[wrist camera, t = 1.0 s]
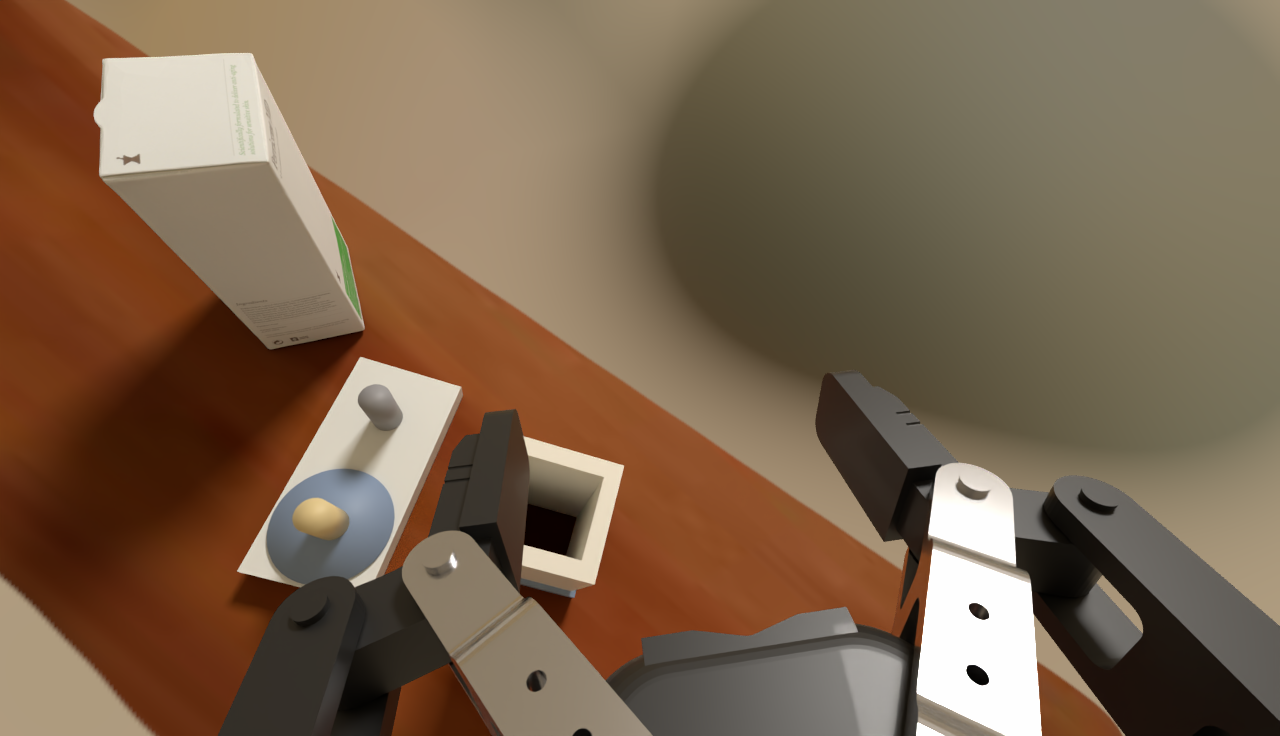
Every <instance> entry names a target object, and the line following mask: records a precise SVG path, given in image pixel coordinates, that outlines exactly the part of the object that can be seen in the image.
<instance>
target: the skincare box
mask: <svg viewBox="0 0 1280 736" xmlns="http://www.w3.org/2000/svg"><path fill="white" fill-rule="evenodd" d="M102 64H103V70H102V87H101V101H100V102H99V103H98V104H97V106H96V108H95V110H94V119H95V122H96V123H97V124H98V126H99V127H100V129H101V132H100V167H99V176H100V177H101V178H102V180H103V181H104V182H105V183H106V184H107V185H108V186H109V187H110V188H112V189H113V190H114V191H115V192H116V193H117V194H118V195H119V196H120V197H121V198H122V199H123V200H124V201H125V202H126V203H127V204H128V205H129V206H130V207H131V208H132V209H133V210H134V211H135V212H136V213H137V214H138V215H139V216H140V217H141V218H142V219H143V220H144V221H145V222H146V223H147V224H148V225H149V226H150V227H151V228H152V229H153V230H154V232H155V233H156V234H157V235H158V236H159V237H160V238H161V239H162V240H163V241H164V242H165V243H166V244H167V245H168V246H169V247H170V248H171V249H172V250H173V251H174V252H175V253H176V254H177V255H178V256H179V257H180V258H181V259H182V260H183V261H184V262H185V263H186V264H187V265H188V266H189V267H190V268H191V269H192V270H193V271H194V272H195V273H196V274H197V275H198V276H199V278H200V279H201V280H202V281H203V282H204V283H205V284H206V285H207V286H208V287H209V288H210V289H211V290H212V291H213V292H214V293H215V294H216V295H217V296H218V297H219V298H220V299H221V300H222V301H223V302H224V303H225V304H226V305H227V306H228V307H229V308H230V310H231V311H232V312H233V313H234V314H235V315H236V316H237V317H238V318H239V319H240V320H241V321H242V322H243V323H244V324H245V325H246V326H247V327H248V328H249V329H250V330H251V331H252V332H253V333H254V334H255V335H256V336H257V337H258V338H259V339H260V341H261V342H262V343H263V344H264V345H265V346H266V347H267V348H268V349H275V348H280V347H285V346H290V345H295V344H300V343H305V342H310V341H315V340H320V339H325V338H330V337H334V336H339V335H344V334H349V333H354V332H358V331H363V330H364V328H365V327H364V322H363V318H362V313H361V308H360V302H359V298H358V293H357V289H356V284H355V280H354V275H353V271H352V266H351V261H350V256H349V251H348V247H347V245H346V243H345V241H344V239H343V237H342V235H341V233H340V231H339V229H338V227H337V225H336V223H335V221H334V219H333V217H332V215H331V213H330V211H329V209H328V207H327V205H326V203H325V201H324V199H323V197H322V195H321V193H320V191H319V189H318V187H317V185H316V183H315V181H314V179H313V177H312V175H311V172H310V170H309V168H308V166H307V164H306V162H305V160H304V158H303V157H302V155H301V153H300V151H299V148H298V147H297V144H296V142H295V141H294V138H293V136H292V135H291V132H290V130H289V128H288V126H287V124H286V122H285V120H284V118H283V116H282V115H281V112H280V110H279V108H278V106H277V104H276V102H275V100H274V98H273V96H272V94H271V92H270V90H269V88H268V87H267V84H266V82H265V80H264V79H263V77H262V74H261V72H260V71H259V68H258V66H257V64H256V62H255V59H254V57H253V55H252V54H251V53H225V54H206V55H190V56H189V55H188V56H172V57H171V56H170V57H143V58H109V59H103V60H102Z"/></svg>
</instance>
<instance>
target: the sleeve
mask: <svg viewBox="0 0 1280 736" xmlns="http://www.w3.org/2000/svg"><path fill="white" fill-rule="evenodd" d="M523 437H524V436H523ZM524 441H525V445H526V449H527V453H528V458H529V467H530V480H529V492H528V503H527V504H531V505H534V506H538V507H541V508H545V509H548V510H552V511H556V512H559V513H563V514H566V515H570V516H573V517H577V518H576V521H575V525H574V528H573V532H572V535H571V539H570V543H569V546H568V550H567V553H566V556H563V555H560V554H556V553H552V552H549V551H545V550H541V549H537V548H534V547H530V546H526V545H524V548H523V559H522V571H521V582H520V585H524V586H528V587H531V588H535V589H539V590H543V591H547V592H550V593H554V594H558V595H562V596H566V597H569V598H574V597H575V593H576V590H577V589H581V588H584V587H588V586H591V585H595V581H596V577H597V573H598V569H599V565H600V561H601V557H602V553H603V549H604V545H605V541H606V537H607V533H608V529H609V524H610V520H611V516H612V512H613V508H614V504H615V500H616V496H617V492H618V488H619V484H620V480H621V476H622V472H623V468H624V466H623V465H620V464H616V463H613V462H609V461H606V460H603V459H599V458H596V457H592V456H589V455H585V454H582V453H579V452H575V451H572V450H568V449H565V448H562V447H558V446H555V445H551V444H548V443H544V442H541V441H538V440H534V439H531V438H527V437H524Z"/></svg>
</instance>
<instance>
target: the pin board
mask: <svg viewBox="0 0 1280 736" xmlns="http://www.w3.org/2000/svg"><path fill="white" fill-rule="evenodd" d="M462 397H463V392H462V388H461V387H459V386H456V385H453V384H449V383H446V382H443V381H439V380H436V379H433V378H429V377H426V376H423V375H419V374H416V373H413V372H409V371H406V370H402V369H399V368H396V367H392V366H389V365H386V364H382V363H379V362H376V361H372V360H369V359H366V358H362V357H360V359H359V360H358V362H357V364H356V365H355V367H354V369H353V371H352V372H351V374H350V376H349V378H348V379H347V381H346V383H345V385H344V386H343V388H342V390H341V392H340V393H339V395H338V397H337V399H336V400H335V402H334V404H333V405H332V407H331V409H330V411H329V412H328V414H327V416H326V418H325V419H324V421H323V423H322V425H321V426H320V428H319V430H318V432H317V433H316V435H315V437H314V438H313V440H312V442H311V444H310V445H309V447H308V449H307V451H306V452H305V454H304V456H303V458H302V459H301V461H300V463H299V465H298V466H297V468H296V470H295V471H294V473H293V475H292V477H291V478H290V480H289V482H288V484H287V485H286V487H285V489H284V491H283V492H282V494H281V496H280V498H279V499H278V501H277V503H276V505H275V506H274V508H273V510H272V511H271V513H270V515H269V517H268V518H267V520H266V522H265V524H264V525H263V527H262V529H261V531H260V532H259V534H258V536H257V538H256V539H255V541H254V543H253V544H252V546H251V548H250V550H249V551H248V553H247V555H246V557H245V558H244V560H243V562H242V564H241V565H240V567H239V569H238V571H237V572H241V573H245V574H249V575H253V576H257V577H261V578H265V579H269V580H273V581H277V582H281V583H285V584H289V585H293V586H297V587H302V586H304V585H306V584H308V583H310V582H312V581H314V580H317V579H319V578H323V577H329V576H340V577H344V578H346V579H348V580H349V581H350V582H351V583H352V584H353V586H354V587H356V586H359V585H361V584H364V583H366V582H369V581H371V580H374V579H376V578H378V577H381V576H383V575H384V573H385V571H386V569H387V567H388V564H389V562H390V560H391V558H392V555H393V553H394V551H395V548H396V546H397V544H398V542H399V539H400V537H401V535H402V533H403V530H404V528H405V526H406V524H407V521H408V519H409V517H410V514H411V512H412V510H413V508H414V505H415V503H416V501H417V499H418V496H419V494H420V492H421V490H422V487H423V485H424V483H425V480H426V478H427V476H428V474H429V471H430V469H431V467H432V465H433V462H434V460H435V458H436V456H437V453H438V451H439V449H440V446H441V444H442V442H443V440H444V437H445V435H446V433H447V431H448V428H449V426H450V424H451V422H452V419H453V417H454V415H455V412H456V410H457V408H458V406H459V403H460V401H461V399H462Z"/></svg>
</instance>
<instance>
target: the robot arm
mask: <svg viewBox="0 0 1280 736" xmlns="http://www.w3.org/2000/svg"><path fill="white" fill-rule="evenodd" d="M816 432H817V435H818V438H819V440H820V442H821V444H822V446H823V447H824V449H825V450H826V452H827V453H828V455H829V457H830V458H831V460H832V461H833V463H834V464H835V466H836V467H837V469H838V471H839V472H840V474H841V475H842V477H843V479H844V480H845V482H846V483H847V485H848V486H849V488H850V489H851V491H852V493H853V494H854V496H855V497H856V499H857V500H858V502H859V504H860V505H861V507H862V508H863V510H864V511H865V513H866V514H867V516H868V517H869V519H870V521H871V522H872V524H873V525H874V527H875V528H876V530H877V532H878V533H879V535H880V536H881V538H882V539H883V541H884V542H885V541H892V540H899V539H904V541H905V542H906V544H907V545H908V549H907V551H906V554H905V559H904V565H903V571H902V577H901V583H900V589H899V595H898V602H897V608H896V614H895V620H894V624H893V628H892V632H891V634H890V633H888V632H885V631H882V630H879V629H877V628H874V627H870V626H865V625H861V624H854V622H853V620H852V618H851V615H850V613H849V611H848V609H847V607H842V608H836V609H829V610H823V611H816V612H810V613H803V614H797V615H795V616H793V617H791V618H788V619H786V620H784V621H782V622H780V623H778V624H776V625H773V626H771V627H769V628H767V629H765V630H763V631H761V632H759V633H756V634H754V635H751V636H740V635H731V634H721V633H712V632H703V631H686V632H680V633H673V634H666V635H660V636H653V637H647V638H641V639H642V648H643V655H641V656H639V657H637V658H635V659H633V660H631V661H629V662H628V663H626V664H625V665H623V666H621V667H620V668H619V669H618V670H617V671H615V672H614V673H613V674H612V675H610V677H609V678H608V679H607V680H606V681H605V680H604V679H603V678H602V676H601V675H600V674H599V673H598V672H597V671H596V669H595V668H594V667H593V666H592V665H591V664H590V663H589V661H588V660H587V659H586V658H585V657H584V656H583V654H582V653H581V652H580V651H579V650H578V649H577V648H576V646H575V645H574V644H573V643H572V642H571V641H570V639H569V638H568V637H567V636H566V635H565V634H564V633H563V631H562V630H561V629H560V628H559V627H558V626H557V624H556V623H555V622H554V621H553V620H552V619H551V617H550V616H549V615H548V614H547V613H546V612H545V611H544V609H543V608H542V607H541V606H540V605H539V604H538V603H537V602H536V601H535V600H534V599H533V598H531V597H527V598H526V599H525V598H523V597H522V596H521V595H520V594H519V593H520V582H521V571H522V559H523V548H524V537H525V526H526V514H527V503H528V492H529V480H530V467H529V458H528V453H527V449H526V445H525V441H524V437H523V432H522V428H521V424H520V420H519V416H518V413H517V411H516V409H513V410H504V411H496V412H487V413H485V415H484V418H483V422H482V427H481V431H480V434H473V435H466V436H465V437H464V438H463V439H462V440H461V442H460V443H459V444H458V445H457V446H456V448H455V449H454V450H453V452H452V456H451V459H450V463H449V466H448V471H447V473H446V477H445V480H444V481H445V484H443V487H442V491H441V494H440V498H439V501H438V505H437V508H436V512H435V515H434V519H433V522H432V526H431V529H430V533H429V536H428V538H426V539H425V540H423V541H422V542H420V543H419V544H418V545H417V546H416V547H415V548H414V549H413V550H412V551H411V552H410V553H409V555H408V556H407V558H406V560H405V562H404V564H403V566H402V567H400V568H398V569H397V570H395V571H393V572H390V573H388V574H386V575H383V576H381V577H378V578H376V579H374V580H371V581H369V582H366V583H364V584H361V585H359V586H356V587H354V586H353V584H352V583H351V582H350V581H349V580H348V579H346V578H344V577H340V576H329V577H323V578H319V579H317V580H314V581H312V582H310V583H308V584H306V585H304V586H302V587H301V588H299V589H297V590H296V591H295V592H293V593H292V594H291V595H290V596H289V597H288V598H286V599H285V600H284V601H283V603H282V604H281V605H280V606H279V607H278V609H277V610H276V611H275V613H274V615H273V617H272V618H271V620H270V623H269V625H268V627H267V629H266V631H265V634H264V636H263V638H262V640H261V642H260V644H259V647H258V649H257V651H256V653H255V655H254V658H253V660H252V662H251V664H250V666H249V669H248V671H247V673H246V675H245V677H244V679H243V682H242V684H241V686H240V688H239V690H238V693H237V695H236V697H235V699H234V701H233V704H232V706H231V708H230V710H229V712H228V714H227V717H226V719H225V721H224V723H223V725H222V728H221V730H220V732H219V734H218V736H391V734H392V730H393V725H394V720H395V715H396V710H397V705H398V700H399V695H400V690H401V686H403V685H405V684H407V683H409V682H411V681H413V680H415V679H417V678H419V677H421V676H423V675H425V674H427V673H429V672H431V671H433V670H435V669H438V668H440V667H442V666H444V665H446V664H448V665H449V667H450V668H451V670H452V671H453V673H454V675H455V676H456V678H457V680H458V681H459V683H460V684H461V686H462V688H463V689H464V691H465V692H466V694H467V696H468V697H469V699H470V700H471V702H472V704H473V705H474V707H475V709H476V710H477V712H478V713H479V715H480V717H481V718H482V720H483V721H484V723H485V725H486V726H487V728H488V730H489V731H490V733H491V735H492V736H1041V724H1040V709H1039V695H1038V680H1037V666H1036V652H1035V637H1034V623H1033V614H1034V615H1035V616H1036V618H1037V619H1038V620H1039V621H1040V623H1041V624H1042V626H1043V627H1044V628H1045V630H1046V631H1047V632H1048V634H1049V635H1050V636H1051V638H1052V639H1053V640H1054V642H1055V643H1056V644H1057V646H1058V647H1059V648H1060V650H1061V651H1062V652H1063V653H1064V655H1065V656H1066V657H1067V659H1068V660H1069V661H1070V663H1071V664H1072V665H1073V666H1074V668H1075V669H1076V671H1077V672H1078V673H1079V675H1080V676H1081V677H1082V679H1083V680H1084V681H1085V683H1086V684H1087V685H1088V687H1089V688H1090V689H1091V690H1092V692H1093V693H1094V695H1095V696H1096V697H1097V698H1098V700H1099V701H1100V702H1101V704H1102V705H1103V706H1104V708H1105V709H1106V710H1107V712H1108V713H1109V714H1110V716H1111V717H1112V718H1113V720H1114V721H1115V722H1116V724H1117V725H1118V726H1119V727H1120V729H1121V730H1122V732H1123V733H1124V734H1125V736H1280V626H1279V625H1278V624H1277V623H1276V622H1274V621H1273V620H1272V619H1271V618H1270V617H1269V616H1267V615H1266V614H1265V613H1264V612H1263V611H1262V610H1260V609H1259V608H1258V607H1257V606H1256V605H1255V604H1253V603H1252V602H1251V601H1250V600H1249V599H1248V598H1246V597H1245V596H1244V595H1243V594H1242V593H1241V592H1239V591H1238V590H1237V589H1236V588H1235V587H1234V586H1233V585H1231V584H1230V583H1229V582H1228V581H1227V580H1226V579H1224V578H1223V577H1222V576H1221V575H1220V574H1218V573H1217V572H1216V571H1215V570H1214V569H1213V568H1212V567H1210V566H1209V565H1208V564H1207V563H1206V562H1204V561H1203V560H1202V559H1201V558H1200V557H1199V556H1198V555H1196V554H1195V553H1194V552H1193V551H1192V550H1191V549H1189V548H1188V547H1187V546H1186V545H1185V544H1184V543H1183V542H1181V541H1180V540H1179V539H1178V538H1177V537H1176V536H1174V535H1173V534H1172V533H1171V532H1170V531H1169V530H1167V529H1166V528H1165V527H1164V526H1162V524H1160V523H1159V522H1158V521H1157V520H1156V519H1155V518H1153V517H1152V516H1151V515H1150V514H1149V513H1148V512H1146V511H1145V510H1144V509H1143V508H1142V507H1140V506H1139V505H1138V504H1137V503H1136V502H1135V501H1134V500H1133V499H1131V498H1130V497H1129V496H1127V495H1126V494H1125V493H1123V492H1122V491H1120V490H1119V489H1117V488H1115V487H1113V486H1111V485H1109V484H1107V483H1105V482H1102V481H1099V480H1096V479H1093V478H1089V477H1084V476H1064V477H1061V478H1059V479H1058V480H1057V481H1056V482H1055V483H1054V485H1053V487H1052V489H1051V490H1050V492H1049V493H1048V492H1039V491H1030V490H1022V489H1013V488H1009V487H1008V486H1007V485H1006V484H1005V483H1004V482H1003V481H1002V480H1001V479H1000V478H999V477H997V476H996V475H994V474H993V473H991V472H989V471H987V470H985V469H983V468H980V467H977V466H974V465H970V464H965V463H959V462H958V461H957V460H956V459H955V458H954V457H953V456H952V455H951V454H950V453H949V452H948V451H947V450H946V449H945V448H944V447H943V445H942V444H941V443H940V442H939V441H938V440H937V439H936V438H935V437H934V436H933V435H932V434H931V433H930V432H929V431H928V429H927V428H926V427H925V426H924V425H921V424H920V421H919V420H918V419H917V418H916V417H915V416H914V415H913V414H912V413H911V414H910V410H909V409H908V408H907V407H906V406H905V405H904V404H903V403H902V402H901V401H900V400H899V399H898V398H897V397H896V396H894V395H892V394H891V393H889V392H887V391H886V390H883V389H882V388H880V387H872V386H871V385H870V383H869V382H867V380H866V379H865V378H864V377H863V376H862V374H860V372H858V371H856V370H851V371H842V372H835V373H827V374H826V375H825V376H824V378H823V381H822V386H821V392H820V397H819V403H818V409H817V414H816ZM1102 575H1103V576H1104V577H1105V578H1106V579H1107V580H1108V581H1109V582H1110V583H1111V584H1112V585H1113V586H1114V587H1115V588H1116V589H1117V591H1118V592H1119V593H1120V594H1121V595H1122V596H1123V597H1124V598H1125V599H1126V600H1127V601H1128V602H1129V603H1130V604H1131V605H1132V607H1133V608H1134V609H1135V610H1136V612H1137V613H1138V615H1139V617H1140V619H1141V621H1142V624H1143V634H1142V633H1141V631H1140V630H1139V629H1138V628H1137V627H1136V626H1135V625H1134V624H1133V623H1132V622H1131V621H1130V620H1129V618H1128V617H1127V616H1126V615H1125V614H1124V613H1123V612H1122V611H1121V610H1120V609H1119V608H1118V606H1117V605H1116V604H1115V603H1114V602H1113V601H1112V600H1111V599H1110V598H1109V597H1108V595H1107V594H1106V593H1105V592H1104V591H1103V590H1102V589H1101V588H1100V587H1099V586H1098V584H1097V581H1098V580H1099V579H1100V577H1101V576H1102Z"/></svg>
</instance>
